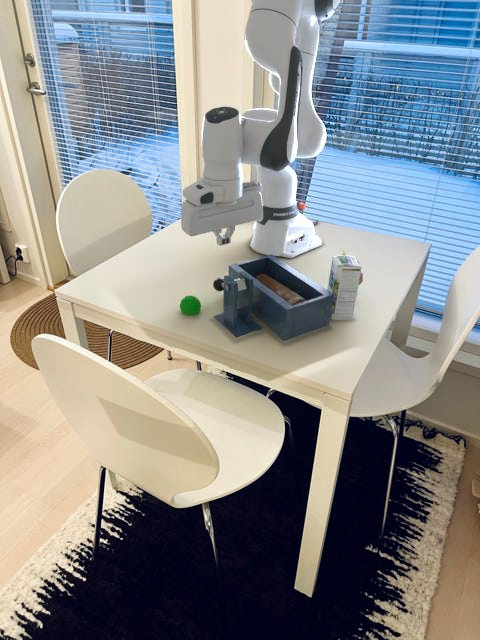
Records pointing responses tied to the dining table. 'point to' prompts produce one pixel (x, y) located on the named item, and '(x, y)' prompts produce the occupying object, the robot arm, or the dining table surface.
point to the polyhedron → (190, 305)
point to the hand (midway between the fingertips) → (223, 243)
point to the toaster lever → (219, 284)
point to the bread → (280, 290)
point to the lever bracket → (238, 318)
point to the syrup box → (344, 286)
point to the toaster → (277, 310)
